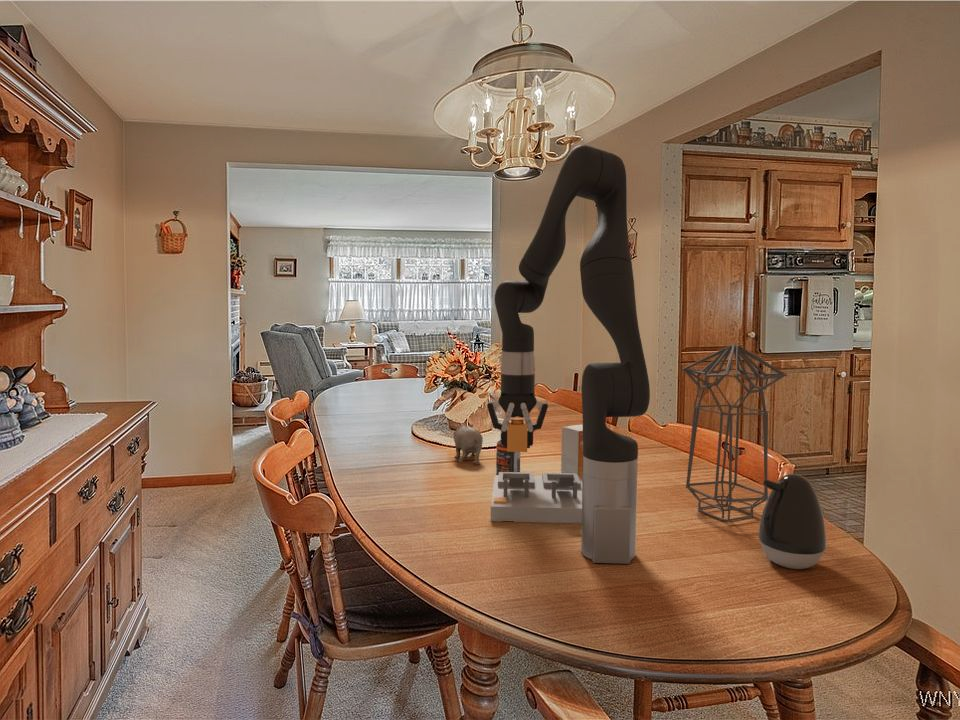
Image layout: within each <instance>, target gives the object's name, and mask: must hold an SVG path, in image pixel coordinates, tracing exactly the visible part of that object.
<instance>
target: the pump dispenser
mask: <svg viewBox="0 0 960 720" xmlns="http://www.w3.org/2000/svg"><path fill="white" fill-rule="evenodd" d="M762 484H763V486H764V485H765V486H767V487H768V489H771V491H770V493H769V494H768V499H767V500H766V501H765V504H764V508H763V510H762V514H761V518H760V522H759V529H758V540H759V541H760V545H761V548H762V551H763V552H764V554H765V556H766V557H767V558H768V559H769V560H770V561H772V562H773V563H774V564H777V565H778V566H780V567H783V568H787V569H792V570H803V569H808V568H811V567H813V566H815V565H817V563H818V562H820V560H821V558H822V556H823V553H824V551H826V550H827V533H826V530H827V529H826V524H825V518H824V514H823V510H822V505H821V504H820V501H819V497H818V495H817V492H816V491H815V489H814V486H813V485H812V483H811V482H810V480H808V479H807V478H806V477H804V476H803V475H800V474H797V473H789V474H786V475H783V476H781V477H780V478H779V479H778V480H777V481H776V482H775V481H773V480H770V479H768V478H767V479H765V480H763V481H762Z"/></svg>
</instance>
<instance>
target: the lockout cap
mask: <svg viewBox="0 0 960 720" xmlns="http://www.w3.org/2000/svg"><path fill="white" fill-rule="evenodd" d="M527 430H528V429H527V424H526V422H525V419H523V418H520V417H518V418H517V417H515V418H510V421H509V424H507V452H520V453H527V452H528V448H527Z"/></svg>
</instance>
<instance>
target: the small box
mask: <svg viewBox="0 0 960 720" xmlns="http://www.w3.org/2000/svg"><path fill="white" fill-rule="evenodd" d="M560 454H561V455H560V457H561V458H560V461H561V463H560V473H577V474H578V477H581V478H582V481H583V423H581V424H575V425H574V424H573V425H569V426H568V425H567V426H561V453H560Z"/></svg>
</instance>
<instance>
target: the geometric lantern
mask: <svg viewBox="0 0 960 720" xmlns="http://www.w3.org/2000/svg"><path fill="white" fill-rule="evenodd" d="M733 356H734V359H735V360H734V361H735V368H732V361H733ZM728 357H729V358H728ZM712 358H714V359H712ZM710 359H712V361H711V362H709V363H708V364H707V365H706V366H705V367H704V368H703V369H701V370H700V369H697V368H693V367H695V366H697V365H698V364H701V363H703V362H705V361H708V360H710ZM727 359H728V361H727ZM742 359H743V360H742ZM752 359H753V360H754V361H756V362H759V363H760V364H762V365H763V366H765V367H767V368H768V369H769V370H772V371H774V372H769V373H768V372H767V373H766V372H765V371H763V370H762V369H761V367H759V366H758V364H756V363H755V362H754V361H753V360H752ZM726 361H727V364H726V368H725V367H724V365H725V363H726ZM743 361H744V363H746V365H747V367H748V368H749V369H750V371H749V370H746V367H745V365H744V363H743ZM719 364H720V365H719ZM718 365H719V368H717V367H718ZM723 367H724V368H723ZM740 367H741V368H740ZM716 368H717V370H715V369H716ZM681 371H683V372H684V373H685V374H686V375H687V376H688V377H689V379H690V380H692V382H693V383H694V384H695V385H696V386H697V388H698V389H697V393H696V396H695V400H694V404H693V413H692V415H693V416H692V426H691V435H690V437H691V438H690V443H689V444H690V445H689V453H688V463H687V464H688V466H687V472H686V473H687V475H686V476H687V477H686V482H685V483H686V485H685V488H686V489H687V490H688V491H689V492H690V493H691V494H692V495H693V496H694V497H695V499H696V500H697V501H698V503H697V504H698V505H697V507H698V508H697V511H698V512H700V513H703V514H705V515H708V516H709V517H713V518H715V519H717V520H719V521H721V522H731V521H736V520H744V519H748V518H753V517H754V509H755V508H756V507H757V506H759V505H761V504H763V503H766V502H767V499H768V497H769V492H768V490H769V487H767V486H765V485H764V484H763V488H764V489H763V491H764V492H763V491H760V490H759V489H758V490H757V489H755V488H752V487H748V486H745V485H742V484H740V483H738V462H739V461H738V457H739V437H740V436H739V434H740V431H739V430H740V429H739V427H740V416H755V415H757V416H759V415H760V416H762V436H763V438H762V439H763V441H762V442H763V469H764V471H763V472H764V476H763V478H764V480H765V479H767V480H768V457H769V456H768V455H769V449H768V447H769V446H768V445H769V414H770V411H768V410H767V407H766V406H767V405H766V401H765V394H764V390H766V389H767V388H768V387H770V386H772V385H773V384H775V383H777V382H778V381H779V380H781V379H783V378H784V377H788V374H787V373H785V372H784V371H781V370H780V369H779V368H777V367H775V366H773V365H772V364H771V363H768V362H767V361H765V360H764V359H763V358H761V357H759V356H758V355H756V354H754V353H752V352H750V351H749V350H747V349H746V348H744V347H742V346H741V345H736V344H730V345H728V346H726V347H724V348H722V349H720V350H718V351H716V352H714V353H712V354H710V355H707V356H705V357H704V358H701V359H700V360H698V361H695V362H693V363H691V364H688V365H687V366H685V367H683V368H682V369H681ZM731 371H735V373H734V374H732V375H731V374H730V372H731ZM722 372H724V373H722ZM738 372H739V373H738ZM759 372H760V373H761V374H760V373H759ZM702 375H704V379H702V378H701V377H700V376H702ZM749 375H752V376H749ZM726 377H729V378H731V377H732V378H735V379H736V380H737V382H738V383H739V384H740V385H741V387H742V388H743V390H745V391H744V392H743V393H742V394H741V395H740V397H739V398H738V399H737V400H736V401H735V403H734V404H731V403H729V401H728V399H727V398H726V396H725V395H724V393H723V392H722V390H721V389H720V387H719V384H721V382H722V381H724V379H725V378H726ZM708 378H715V381H713V382H709V380H708ZM741 378H744V380H746V381H747V382H748V386H749V388H748V387H747V386H746V384H745V383H744V382H743V381H742V380H741ZM771 379H772V380H771ZM752 380H755V384H754V383H753V382H752ZM759 380H760V381H761V383H760V384H761V385H760V386H759V385H758V383H759ZM768 380H770V381H768ZM700 382H702V383H703V386H702V385H701V383H700ZM713 387H716V388H717V390H718V391H719V393H720V394H721V396H722V397H723V398H724V400H725V401H726V403H727V404H720V403H719V401H718V399H717V397H716V395H715V393H714V391H713V390H712V388H713ZM700 390H701V392H700ZM706 390H708V391H709V392H710V394H711V397H712V398H713V400H714V402H715V404H709V405H707V404H705V405H704V404H703V405H701V403H702V401H703V400H702V399H703V396H704V393H705V391H706ZM699 393H700V396H699ZM754 393H759V395H760V401H761V406H762V407H761V408H762V409H758V408H752V407H749V406H748V407H747V406H742V405H743V403H744V402H745V401H746V399H747V398H748V397H749V395H750V394H754ZM698 397H699V399H698ZM740 400H741V401H740ZM697 401H698V403H697ZM739 401H740V402H739ZM738 403H739V404H738ZM696 404H697V405H696ZM737 404H738V405H737ZM716 407H717V408H718V409H719V410H718V411H717V410H712V409H708V408H716ZM723 407H728V409H727V412H725V411H724V410H723ZM734 408H735V409H736V412H735V413H734V412H733V413H732V411H733V409H734ZM740 409H745V410H749V411H750V410H751V411H756V412H741V413H740ZM700 410H701V411H706V412H709V413H715V414H719V415H720V417H719V429H718V442H717V455H716V456H717V457H716V466H715V467H716V469H715V480H714V481H704V482H702V481H701V482H693V483H691V482H690V481H691V474H692V468H693V460H694V453H695V448H696V447H695V445H696V438H697V430H698V423H699V415H700ZM724 416H727V418H726V428H725V439H724V446H723V447H724V449H723V459H722V468H721V474H720V465H721V464H720V462H721V450H722V439H723V438H722V437H723V423H724V421H723V420H724ZM733 416H736V422H735V424H736V425H735V449H734V451H735V452H734V473H733ZM728 444H729V445H728ZM728 448H729V449H728ZM727 451H728V480H725V479H724V478H725V471H726V460H727ZM733 474H734V476H733ZM719 475H721V476H719ZM719 477H720V480H719ZM732 477H734V478H732ZM764 480H763V481H764ZM732 481H733V482H732ZM719 484H720V485H721V495H718V491H719ZM724 484H726V485H728V494H727V495H725V491H724ZM704 485H705V486H706V485H714V496H712V495H709V494H707V493H704V492H702V491H700V490H698V489H696V488H693V486H694V487H695V486H704ZM735 487H739V488H742V489H744V490H747V491H751V492H753V493H756V494H759V495H762V496H761V497H745V498H743V497H742V498H734V497H732V496H733V494H732V492H733V490H734V489H735ZM697 494H699V495H700V496H703V497H702V498H700V497H699V495H697ZM706 500H712V501H714V502H716V503H717V504H713V503H710V502H708V501H706ZM751 501H752V502H754V503H749V502H751ZM724 502H725V503H724ZM736 502H737V503H738V502H739V503H740V504H745V505H747V506H741V507H736V506H733V505H732V503H736ZM701 503H703V504H706V506H705V505H704V506H701ZM723 506H726V507H727V508H724V507H723ZM710 508H716V509H719V510H720V511H721V517H719V516H717V515H714V514H711V513H709V512H707V511H705V510H702V509H710ZM747 509H750V510H749V511H750V512H749V511H747ZM731 511H740V512H743V513H745V514H748V515H744V516H739V517H733V518H731ZM725 512H727V518H725Z"/></svg>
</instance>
